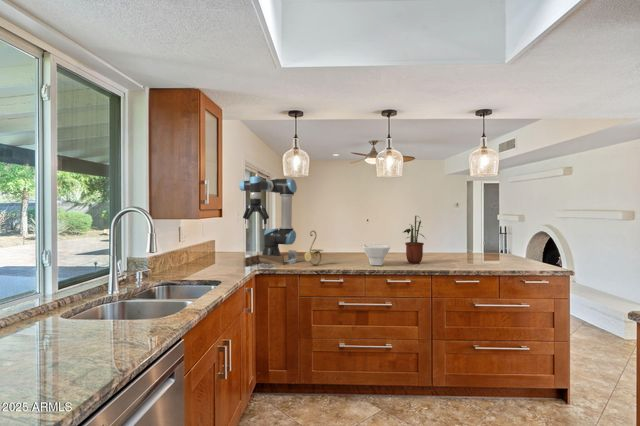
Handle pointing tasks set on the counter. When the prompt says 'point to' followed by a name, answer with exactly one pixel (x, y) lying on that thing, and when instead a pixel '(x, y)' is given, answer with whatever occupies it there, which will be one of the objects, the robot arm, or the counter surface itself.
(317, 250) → the wall sconce
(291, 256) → the angle bracket
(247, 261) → the corner walls
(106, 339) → the counter surface
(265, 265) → the mat
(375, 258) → the bowl
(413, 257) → the potted plant
